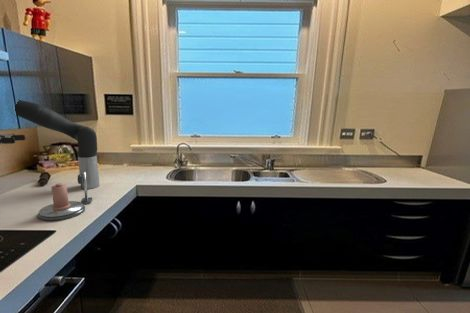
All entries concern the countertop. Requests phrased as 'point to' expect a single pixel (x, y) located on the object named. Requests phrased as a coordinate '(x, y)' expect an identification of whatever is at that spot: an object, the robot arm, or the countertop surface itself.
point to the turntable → (50, 213)
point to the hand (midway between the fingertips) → (19, 138)
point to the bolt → (44, 178)
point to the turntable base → (61, 217)
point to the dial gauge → (83, 180)
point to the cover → (60, 197)
